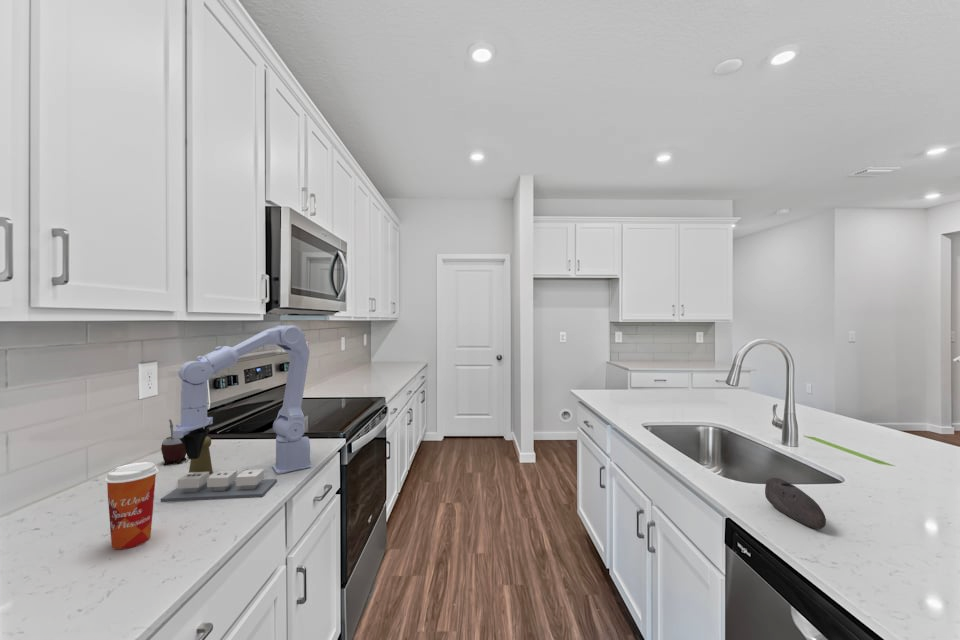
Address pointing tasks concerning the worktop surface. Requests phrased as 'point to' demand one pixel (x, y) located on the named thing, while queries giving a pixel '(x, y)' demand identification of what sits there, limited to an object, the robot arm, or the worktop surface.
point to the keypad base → (220, 492)
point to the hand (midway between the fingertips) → (193, 458)
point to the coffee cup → (131, 503)
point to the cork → (202, 459)
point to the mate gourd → (173, 449)
